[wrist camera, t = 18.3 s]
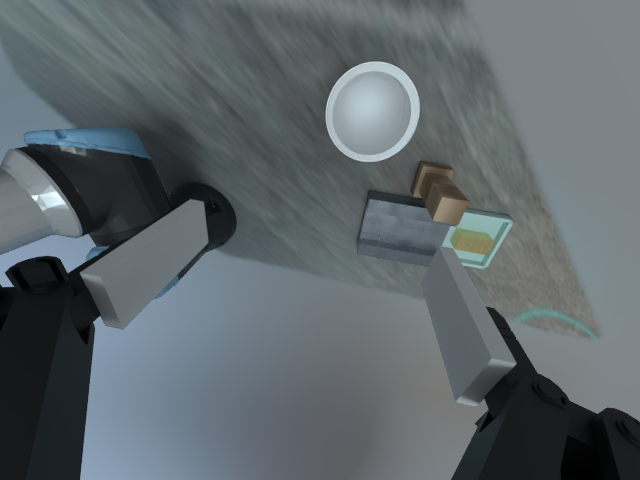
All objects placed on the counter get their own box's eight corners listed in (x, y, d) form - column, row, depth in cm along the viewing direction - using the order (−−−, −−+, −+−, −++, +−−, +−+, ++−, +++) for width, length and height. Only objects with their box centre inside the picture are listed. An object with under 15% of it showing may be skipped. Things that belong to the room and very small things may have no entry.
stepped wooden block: (410, 190, 48) (424, 225, 36) (420, 161, 45) (438, 188, 33) (437, 195, 47) (461, 232, 35) (449, 165, 44) (478, 195, 32)
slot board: (357, 242, 55) (356, 253, 52) (369, 190, 49) (369, 199, 45) (432, 256, 54) (437, 268, 50) (454, 204, 48) (462, 214, 44)
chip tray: (433, 254, 54) (435, 260, 52) (454, 206, 48) (457, 211, 46) (481, 263, 53) (485, 269, 51) (509, 215, 47) (514, 220, 45)
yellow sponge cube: (470, 252, 48) (486, 255, 48) (477, 239, 47) (494, 242, 46) (465, 244, 51) (480, 246, 51) (472, 231, 49) (488, 233, 49)
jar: (416, 82, 39) (439, 81, 26) (386, 148, 44) (393, 174, 32) (350, 57, 39) (342, 44, 26) (329, 127, 44) (313, 145, 32)
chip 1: (450, 241, 51) (454, 249, 48) (456, 228, 49) (460, 236, 47) (465, 243, 51) (470, 252, 48) (471, 231, 49) (477, 238, 47)
